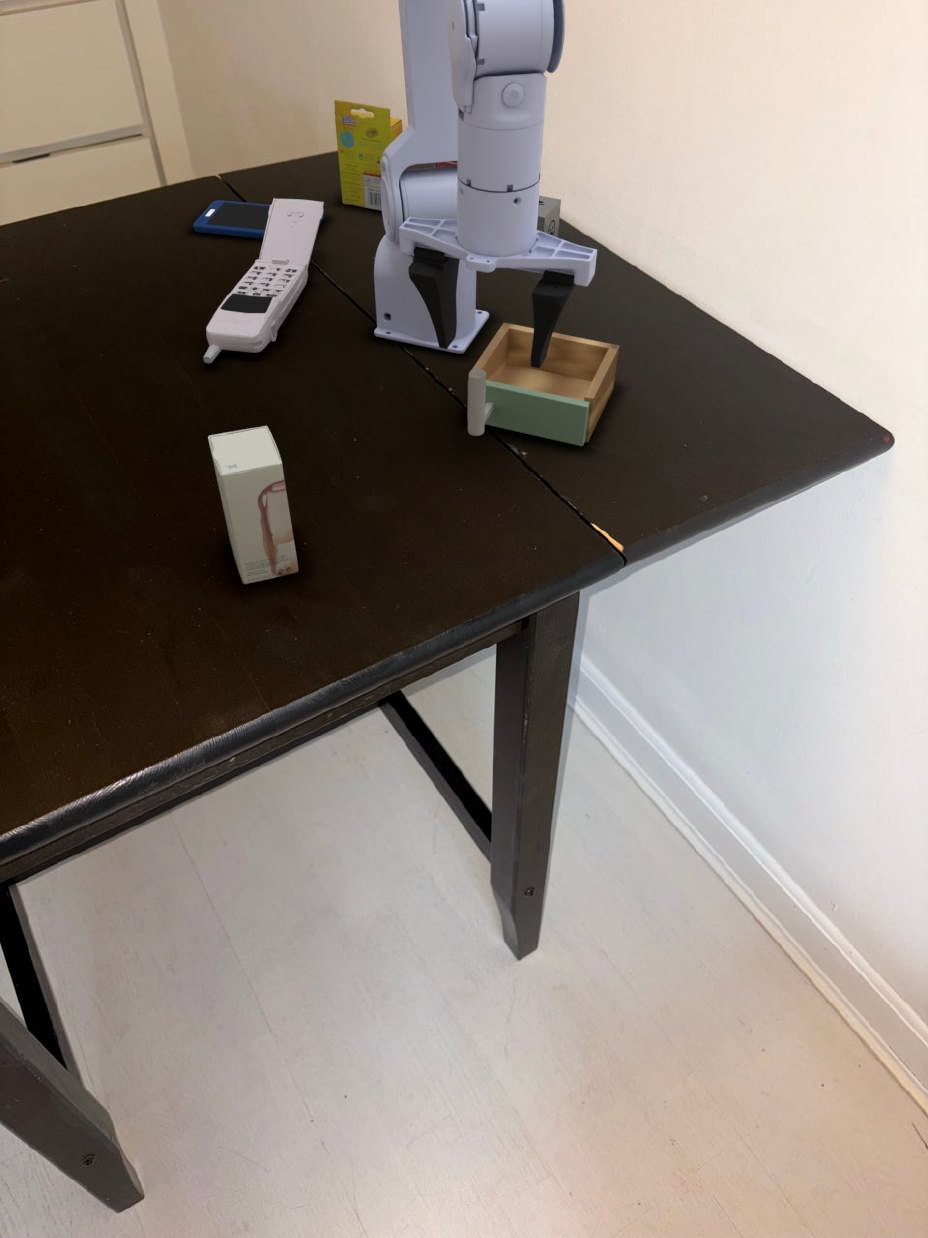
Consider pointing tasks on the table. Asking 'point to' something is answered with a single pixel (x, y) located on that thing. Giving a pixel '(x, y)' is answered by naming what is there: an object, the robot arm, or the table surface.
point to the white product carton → (254, 503)
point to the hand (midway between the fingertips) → (492, 351)
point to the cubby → (554, 367)
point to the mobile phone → (268, 281)
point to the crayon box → (363, 150)
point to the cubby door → (524, 410)
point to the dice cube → (548, 215)
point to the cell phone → (234, 219)
